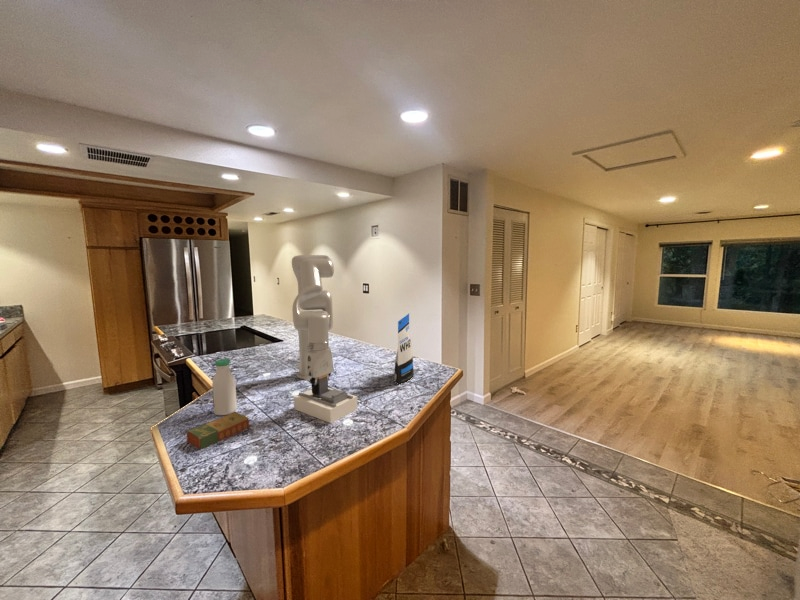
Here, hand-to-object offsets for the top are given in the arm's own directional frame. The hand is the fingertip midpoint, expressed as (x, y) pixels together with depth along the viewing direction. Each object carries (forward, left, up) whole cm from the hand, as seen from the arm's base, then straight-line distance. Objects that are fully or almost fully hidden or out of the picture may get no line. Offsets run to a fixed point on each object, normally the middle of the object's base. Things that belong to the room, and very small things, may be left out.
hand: (320, 391), depth 128 cm
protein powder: (+8, +47, -7) cm, 48 cm away
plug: (0, 0, -3) cm, 3 cm away
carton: (-12, -33, -7) cm, 36 cm away
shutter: (+8, 0, -1) cm, 8 cm away
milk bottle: (-27, -23, -7) cm, 36 cm away
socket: (+3, 0, -6) cm, 7 cm away
